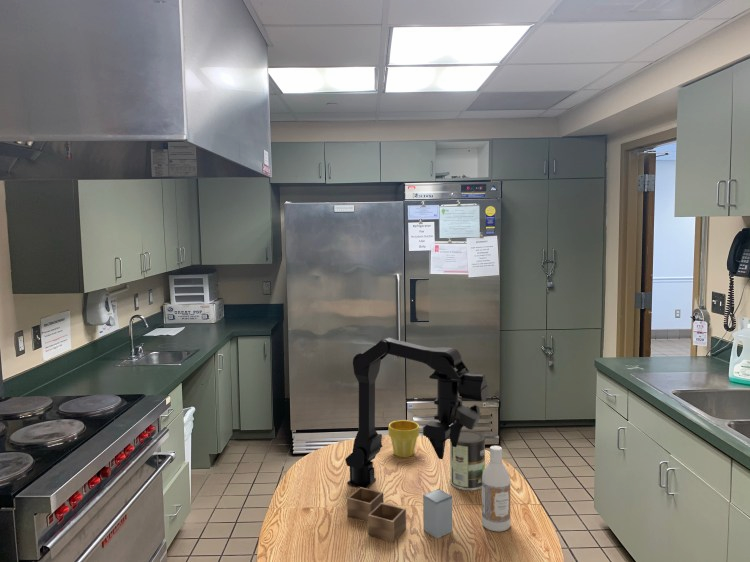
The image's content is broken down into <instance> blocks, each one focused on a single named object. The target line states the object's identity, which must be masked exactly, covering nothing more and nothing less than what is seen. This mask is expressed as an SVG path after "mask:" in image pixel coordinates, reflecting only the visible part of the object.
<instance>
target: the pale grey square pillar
mask: <svg viewBox="0 0 750 562" xmlns="http://www.w3.org/2000/svg"><path fill="white" fill-rule="evenodd" d="M422 499H423V500H422V501H423V503H422V505H423V506H422V511H423V513H422V514H423V516H422V517H423V523H422V524H423V531H425V532H426V533H427V534H429V535H430V536H431V537H434V538H436V539H440V538H441V537H443V536H445V535H448V534H450V533H452V532H453V495H451V494H449V493H447V492H446V491H443V490H442V489H440V488H438V489H435V490H432V491H429V492H427V493H424V494H423V495H422Z"/></svg>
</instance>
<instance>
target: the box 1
mask: <svg viewBox="0 0 750 562" xmlns="http://www.w3.org/2000/svg"><path fill="white" fill-rule="evenodd" d="M384 502H385V501H384V492H383V491H378V490H375V489H370V488H368V487H367V488H363V487H358V489H356V490H355V491H354V492H353V493H351V494H350V495H349V496H348V497H347V498H346V507H347V508H346V510H347V512H346V513H347V515H346V516H347V518H352V519H354V520H357V521H358V520H359V521H363V522H366V523H368V514H369V513H371V512H372V511H373V510H374V509H375V508H376V507H377V506H378V505H379V504H380V503H384Z"/></svg>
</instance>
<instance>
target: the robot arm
mask: <svg viewBox="0 0 750 562" xmlns="http://www.w3.org/2000/svg"><path fill="white" fill-rule="evenodd" d="M388 355H391V356H395V357H399V358H403V359H407V360H409V361H410V360H411V361H413V362H414V361H415V362H417V363H418V362H419V363H421V364H422V363H423V364H425V365H426V366H428V367H429V368H430V369H432V370H434V371H433V373H432V374H431V375H429V376H428V377H429V379H432V380H436V399H434V402H433V405H436V414H435V415H434V416H433V418H434V420H437V421H433V420H432V421H429V423H427V424H425V426H423V427H422V435H423V436H424V437H425V438H427V439H428V441H429V442H430V444H431V446H432V447H433V449H434V452H435V453H436V455H437V458H438V459H439V460H443V459H444V456H445V449H446V442H447V440H448V439H449V441H450V440H451V443H452V446H453V447H457V443H458V440H459V436H460V432H461V430H463V429H462V428H463V427H465V429H466V430H470V431H473V429H474V428H475V427H477V425H478V423H479V420H480V419H481V418H482V416H481V414H482V413H481V411H480V410H481V409H480V406H479V405H477V404H473V405H471V407H469V405H467V406H465V405H463V400H469V401H476V402H483V403H484V402H486V401H487V398H488V394H489V385H488V381H487V380H486V375H485V374H481V373H480V374H479V373H478V374H476V373H470V370H469V369H468V367H467V366H466V364H465V363H464V361H463V360H462V355H461V353H460V352H459V350H458V349H456V348H454V347H443V346H441V347H429V346H423V345H421V344H416V343H411V342H407V341H403V340H398V339H394V338H392V337H385V338H383V339H381V340H379V341H378V342H377V343H376V344H374V345H373V346H372V347H370V348H369V349H367V350H364V351H362V352H358V353H356V354H355V356H354V357H353V358H352V369H353V374H354V376H355V378H356V380H357V382H358V431H357V433H356V435H355V437H354V440H353V446H352V452H351V453H350V454H348V456H347V457H346V458H345V460H344V461H345V462H346V463H345V464H346V467H349V480H348V481H347V482H346V484H347V485H348V486H349V485H350V486H354V487H357V488H360V487H363V488H367V489H368V488H369V486H371V485H372V484H373V483H374V482H375V481H376V480H377V479H376V477H375V467H374V462H373V461H372V460H374V459H376V456H377V455H378V453H380V452H381V449H382V448H383V445H382V440H383V439H382V438H383V434H382V433H378V432H377V430H376V380H377V378H378V375H379V372H380V368H381V363H382V361H383V359H385V358H387V356H388ZM459 397H461V398H459ZM462 399H463V400H462Z"/></svg>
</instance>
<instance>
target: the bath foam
mask: <svg viewBox="0 0 750 562" xmlns="http://www.w3.org/2000/svg"><path fill="white" fill-rule="evenodd" d="M481 523H482V526H483V527H484V528H485V529H487V530H489V531H492V532H497V533H498V532H504V531H508V530H509V528H510V527H511V477H510V473H509V471H508V469H507V468H506V465H505V464H504V462H503V448H502V447H501V446H500V445H491V446H490V447H489V462H488V463H487V465H485V469H484V471H483V475H482V488H481Z"/></svg>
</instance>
